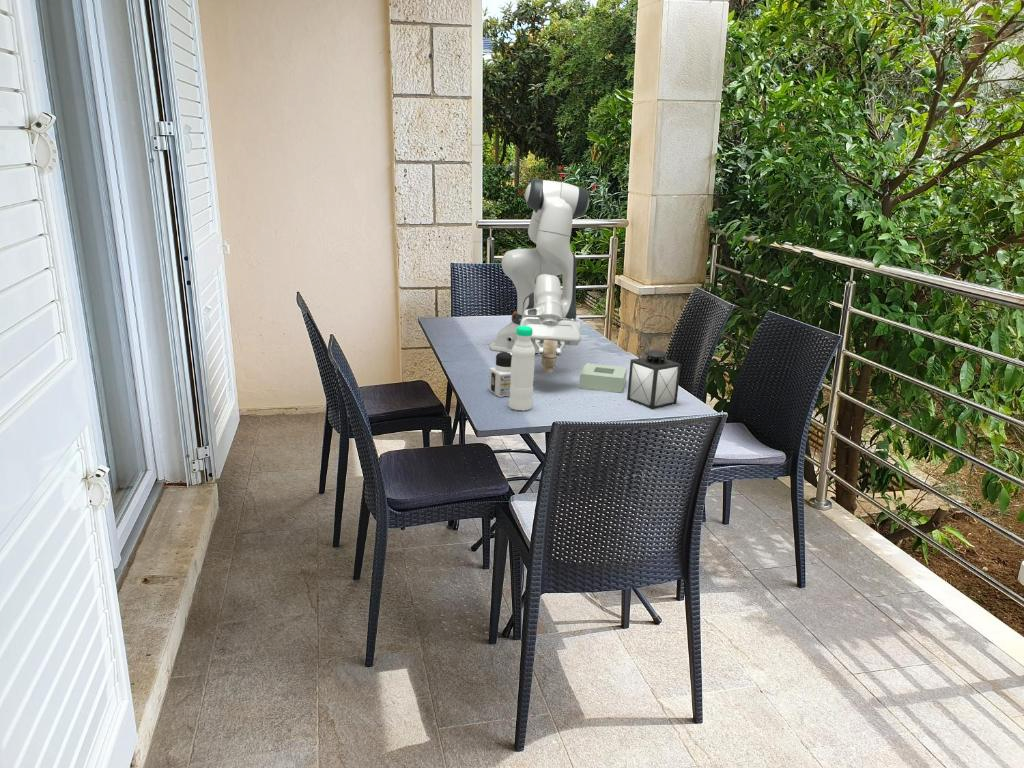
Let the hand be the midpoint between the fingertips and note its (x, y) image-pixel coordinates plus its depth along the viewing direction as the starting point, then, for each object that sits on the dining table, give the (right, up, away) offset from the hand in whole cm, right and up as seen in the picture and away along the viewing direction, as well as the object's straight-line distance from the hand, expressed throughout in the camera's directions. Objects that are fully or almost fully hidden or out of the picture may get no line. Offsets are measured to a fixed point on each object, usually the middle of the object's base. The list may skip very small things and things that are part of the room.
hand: (549, 354), depth 255 cm
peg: (0, -5, +2) cm, 6 cm away
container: (-14, -13, +1) cm, 19 cm away
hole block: (+19, -10, +15) cm, 26 cm away
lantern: (+32, -15, -1) cm, 36 cm away
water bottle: (-9, -17, -13) cm, 23 cm away
